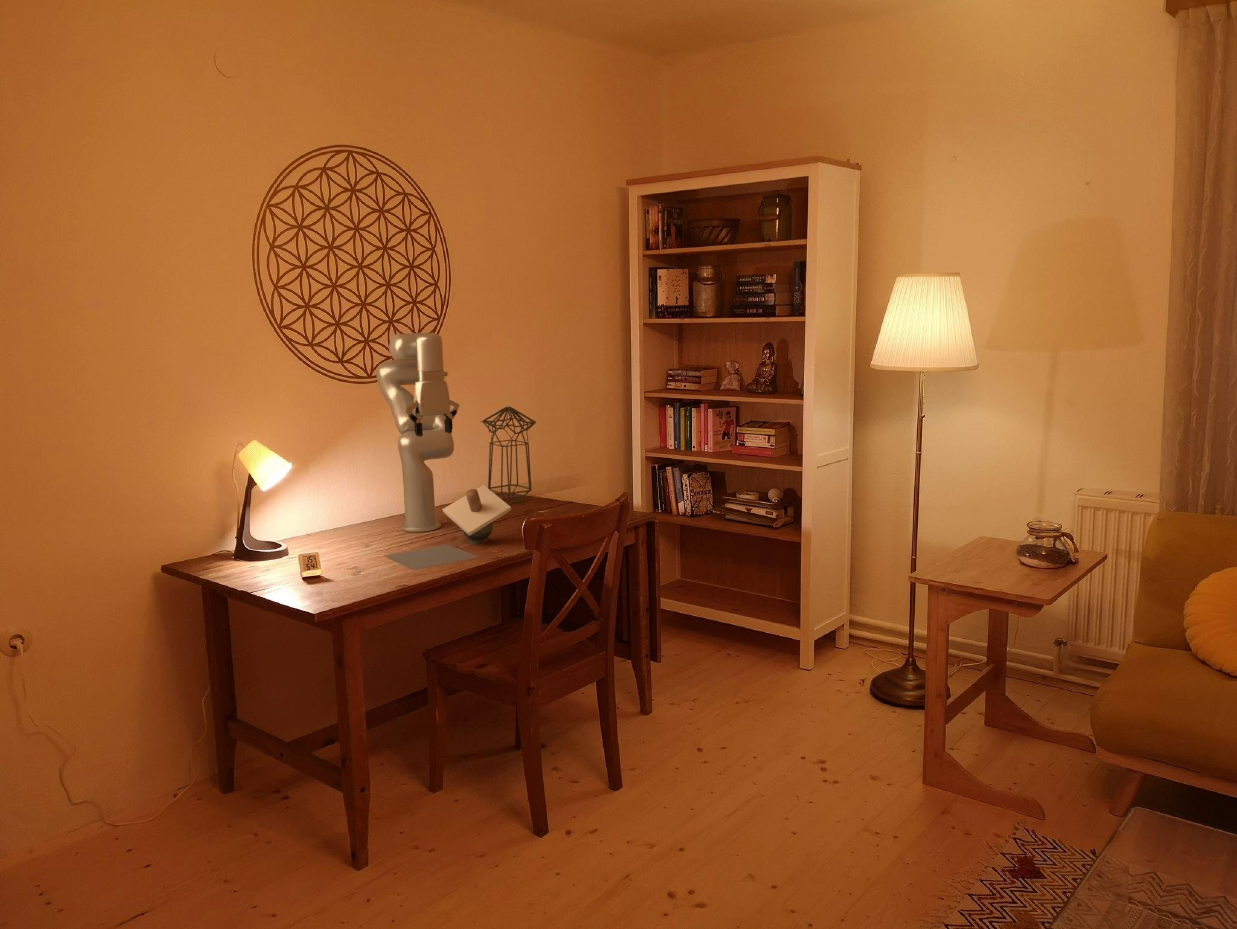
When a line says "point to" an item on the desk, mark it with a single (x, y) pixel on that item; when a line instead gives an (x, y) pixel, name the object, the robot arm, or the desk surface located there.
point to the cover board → (478, 517)
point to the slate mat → (430, 556)
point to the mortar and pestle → (480, 534)
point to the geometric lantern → (532, 422)
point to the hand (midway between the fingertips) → (434, 434)
